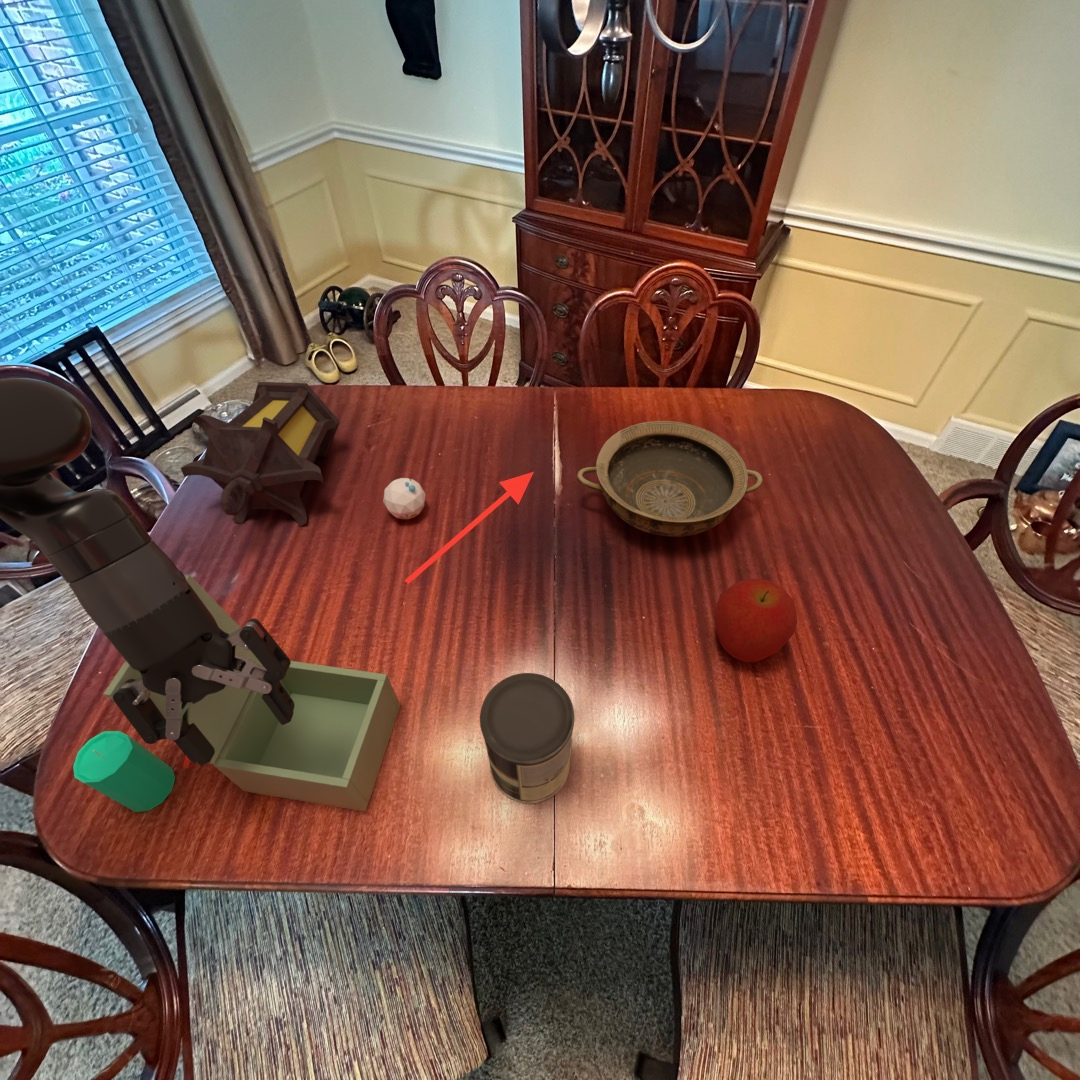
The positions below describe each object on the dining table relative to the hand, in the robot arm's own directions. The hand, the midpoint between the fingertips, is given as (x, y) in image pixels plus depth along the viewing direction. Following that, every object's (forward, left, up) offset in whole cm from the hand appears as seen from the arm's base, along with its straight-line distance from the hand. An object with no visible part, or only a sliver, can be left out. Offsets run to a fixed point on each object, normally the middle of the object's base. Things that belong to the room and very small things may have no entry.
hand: (249, 738), depth 59 cm
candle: (-12, +17, -19) cm, 28 cm away
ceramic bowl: (+68, -8, -19) cm, 72 cm away
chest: (+5, +4, -19) cm, 20 cm away
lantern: (+30, +47, -19) cm, 59 cm away
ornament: (+40, +26, -19) cm, 52 cm away
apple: (+52, -31, -19) cm, 64 cm away
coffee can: (+20, -18, -19) cm, 33 cm away
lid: (+1, +12, -2) cm, 12 cm away
